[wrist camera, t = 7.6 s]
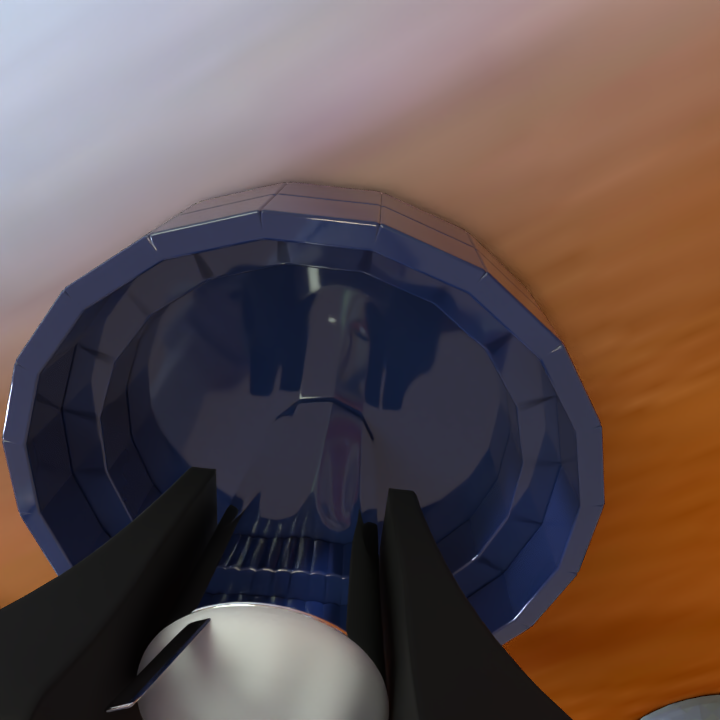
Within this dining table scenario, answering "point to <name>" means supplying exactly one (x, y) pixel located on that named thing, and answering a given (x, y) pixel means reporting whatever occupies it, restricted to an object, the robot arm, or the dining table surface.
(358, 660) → the milkshake
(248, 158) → the dining table surface
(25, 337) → the dining table surface
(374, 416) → the bowl
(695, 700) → the grey green cup
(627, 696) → the dining table surface
